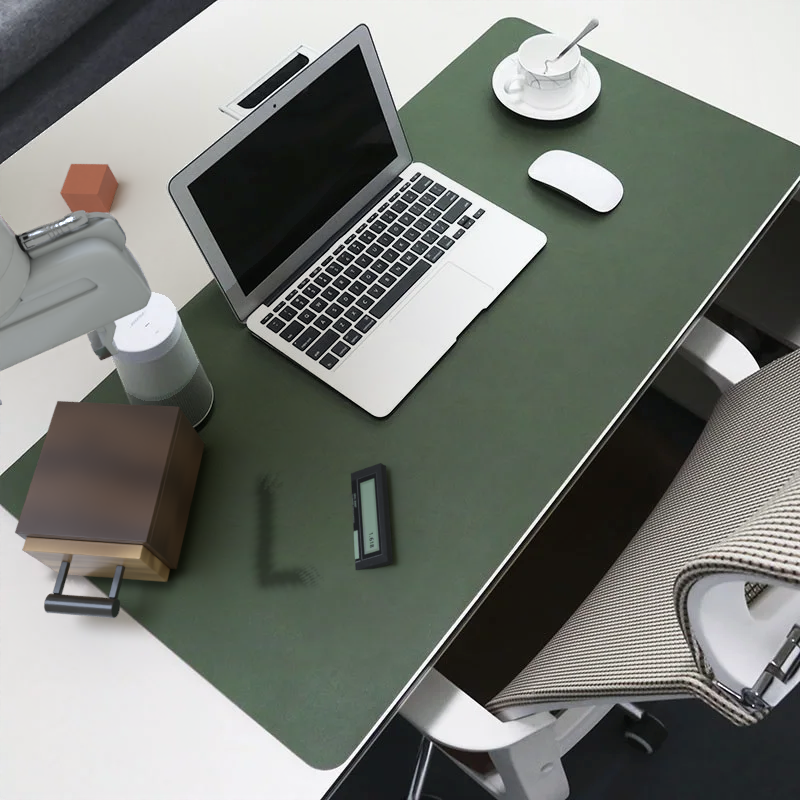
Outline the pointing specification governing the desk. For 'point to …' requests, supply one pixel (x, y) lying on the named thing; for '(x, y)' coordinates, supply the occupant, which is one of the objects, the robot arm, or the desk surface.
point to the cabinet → (115, 477)
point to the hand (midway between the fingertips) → (50, 376)
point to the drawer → (93, 571)
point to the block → (89, 188)
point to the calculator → (371, 518)
